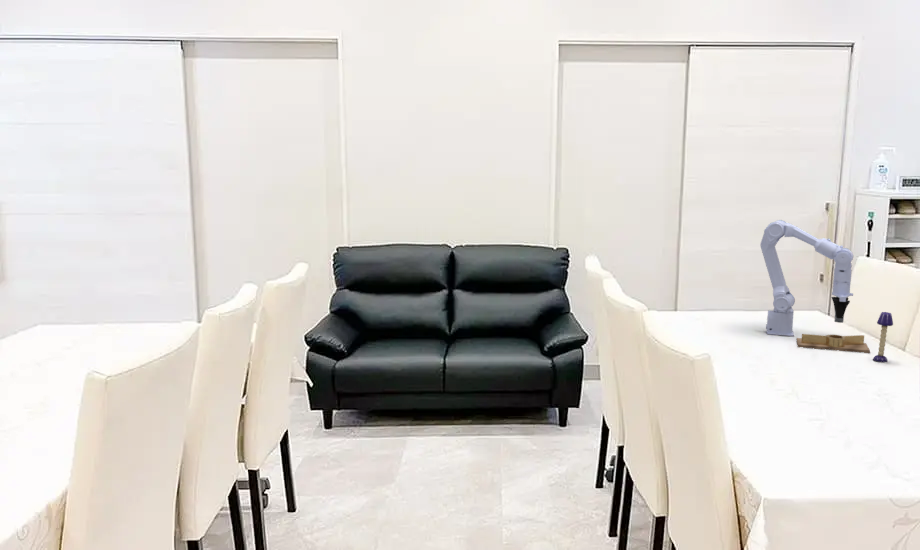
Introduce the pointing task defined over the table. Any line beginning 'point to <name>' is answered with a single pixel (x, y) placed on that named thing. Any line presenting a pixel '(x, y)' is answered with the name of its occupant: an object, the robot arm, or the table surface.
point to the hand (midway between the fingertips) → (839, 317)
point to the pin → (838, 319)
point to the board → (849, 348)
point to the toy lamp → (883, 334)
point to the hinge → (833, 340)
